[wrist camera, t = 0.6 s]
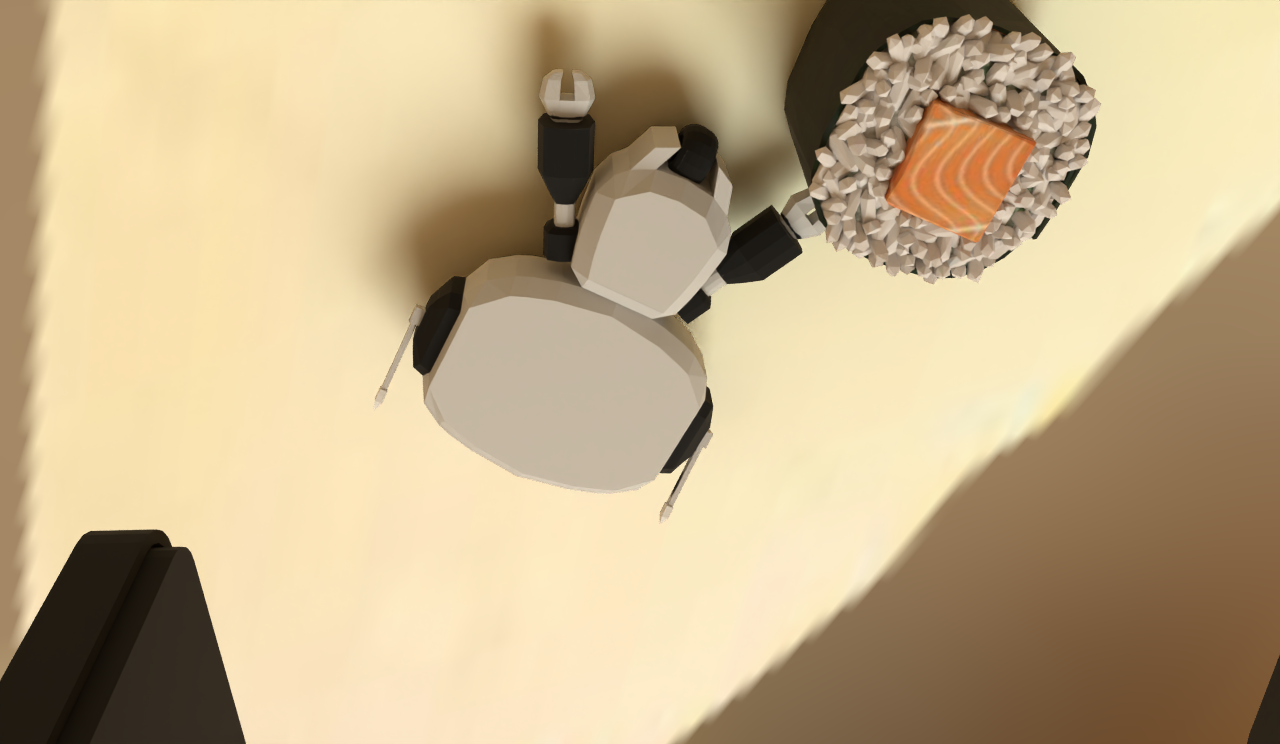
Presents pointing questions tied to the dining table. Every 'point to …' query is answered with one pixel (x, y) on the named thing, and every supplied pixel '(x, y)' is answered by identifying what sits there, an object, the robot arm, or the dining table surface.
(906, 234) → the sushi
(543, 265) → the robot toy
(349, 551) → the dining table surface
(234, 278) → the dining table surface
